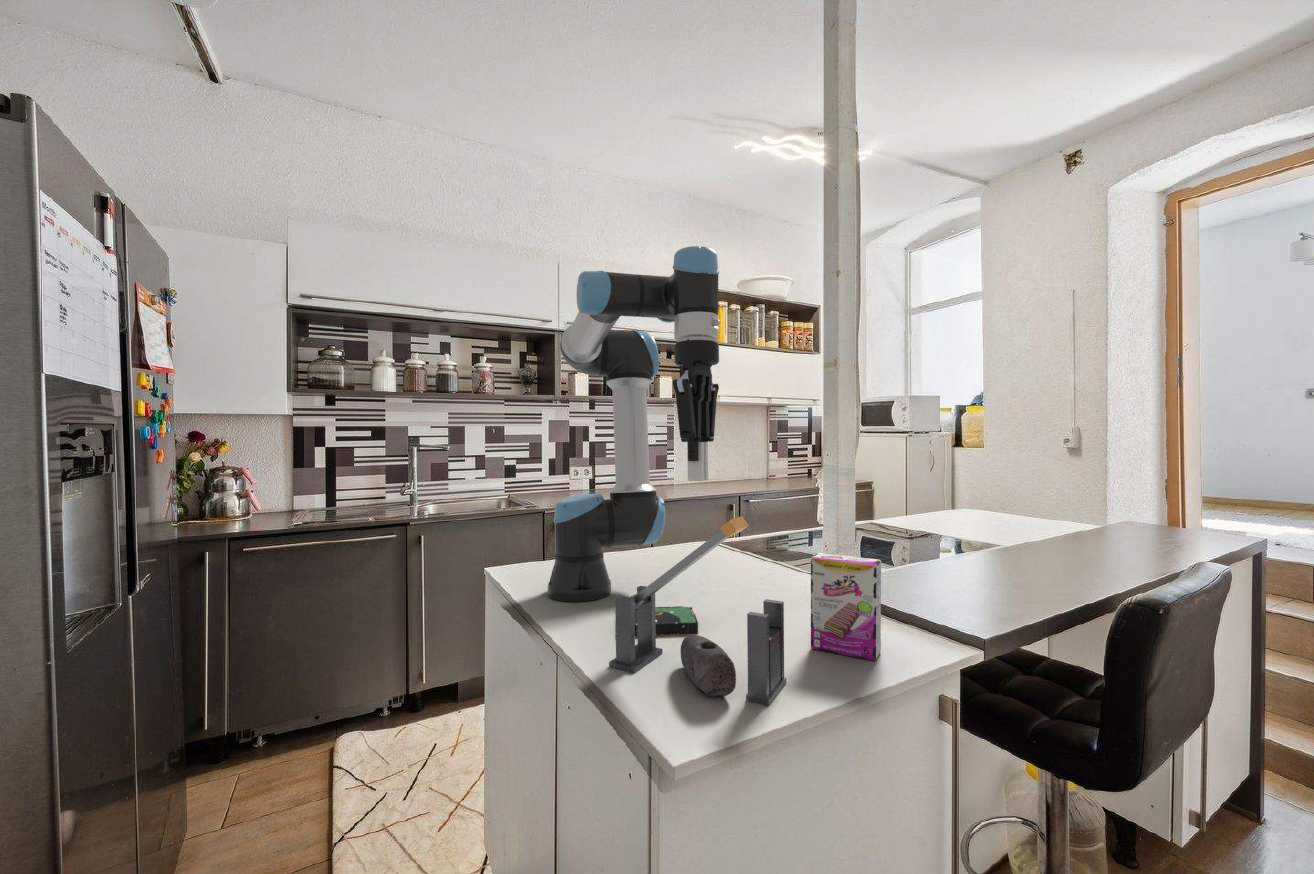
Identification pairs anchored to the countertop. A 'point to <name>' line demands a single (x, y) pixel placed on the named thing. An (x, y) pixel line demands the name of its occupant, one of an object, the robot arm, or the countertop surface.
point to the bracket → (626, 650)
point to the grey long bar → (691, 559)
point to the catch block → (765, 652)
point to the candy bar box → (846, 605)
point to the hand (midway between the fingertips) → (698, 480)
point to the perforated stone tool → (708, 666)
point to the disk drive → (673, 620)
